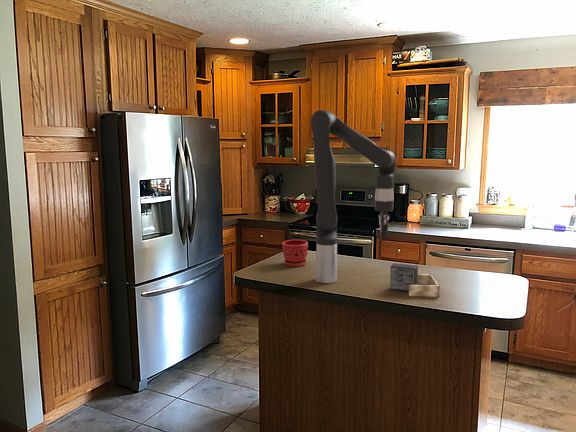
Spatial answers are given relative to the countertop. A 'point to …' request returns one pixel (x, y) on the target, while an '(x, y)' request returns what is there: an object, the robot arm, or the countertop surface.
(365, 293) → the countertop surface
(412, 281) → the small box
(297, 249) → the plant pot
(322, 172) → the robot arm
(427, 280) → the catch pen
